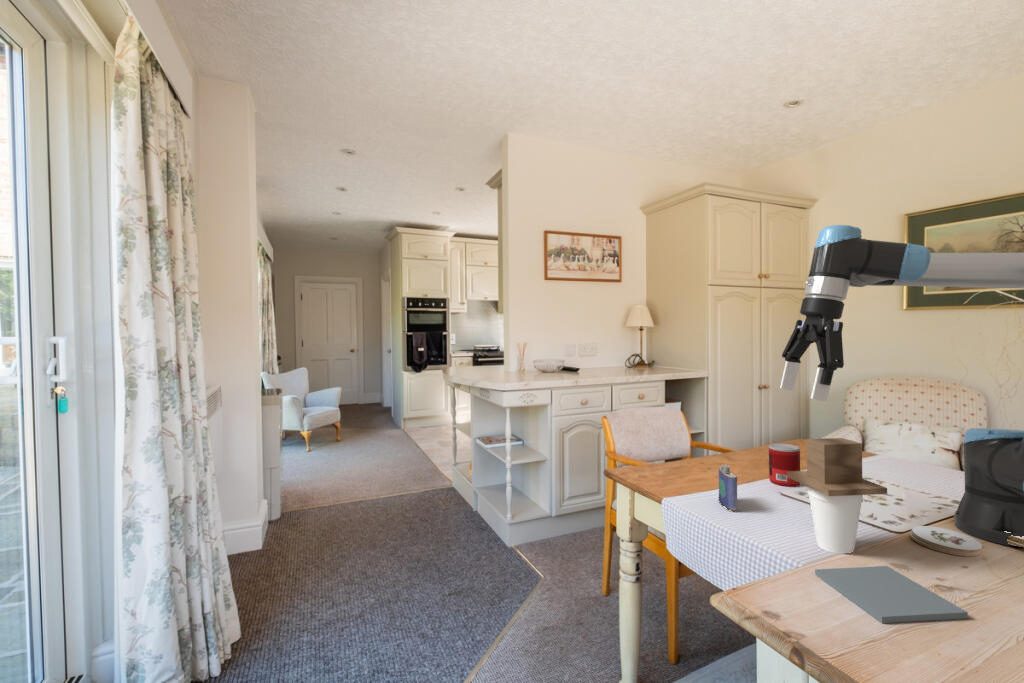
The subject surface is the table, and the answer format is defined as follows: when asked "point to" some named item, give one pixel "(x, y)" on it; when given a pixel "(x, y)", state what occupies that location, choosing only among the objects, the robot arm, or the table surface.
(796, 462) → the canned food
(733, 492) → the flask
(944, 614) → the mat
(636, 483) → the table surface
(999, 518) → the robot arm
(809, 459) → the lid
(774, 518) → the table surface
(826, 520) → the foam cup
